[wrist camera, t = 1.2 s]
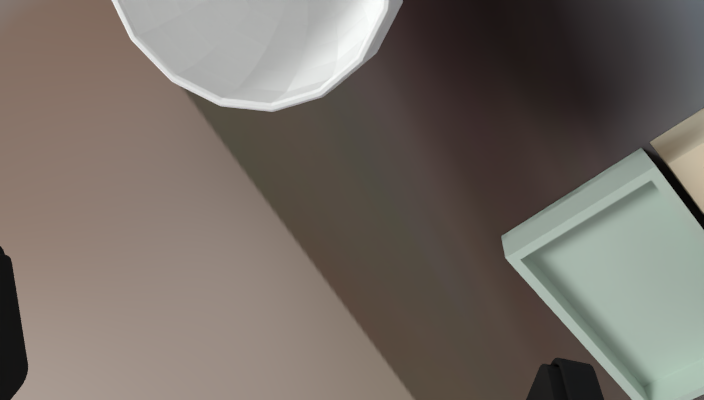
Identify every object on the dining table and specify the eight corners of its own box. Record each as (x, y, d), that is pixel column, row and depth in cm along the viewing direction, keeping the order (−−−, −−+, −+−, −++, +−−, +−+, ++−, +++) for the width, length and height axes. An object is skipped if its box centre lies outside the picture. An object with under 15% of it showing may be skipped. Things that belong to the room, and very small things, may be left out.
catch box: (641, 147, 34) (655, 165, 31) (774, 326, 38) (795, 353, 36) (501, 236, 37) (505, 258, 35) (637, 390, 42) (648, 418, 39)
